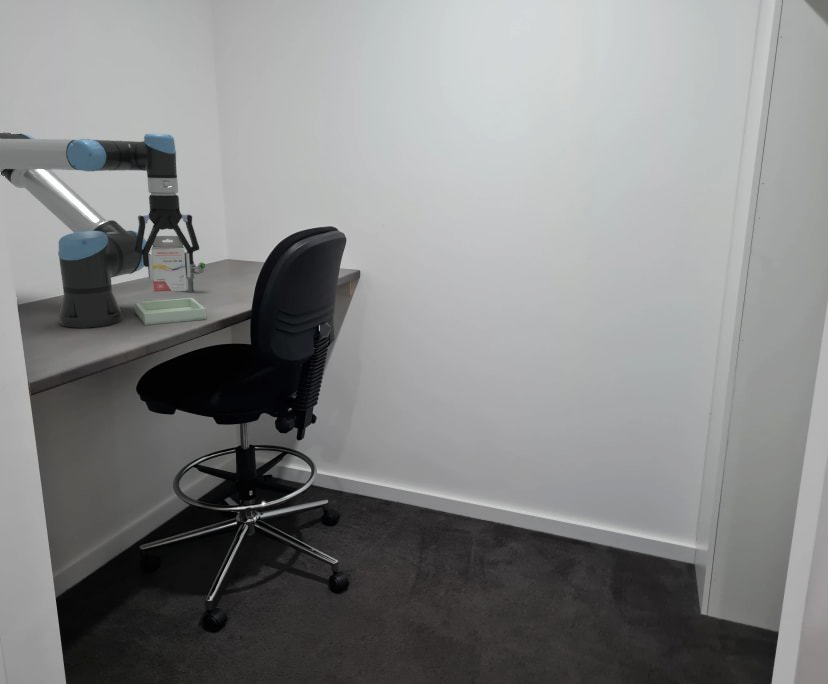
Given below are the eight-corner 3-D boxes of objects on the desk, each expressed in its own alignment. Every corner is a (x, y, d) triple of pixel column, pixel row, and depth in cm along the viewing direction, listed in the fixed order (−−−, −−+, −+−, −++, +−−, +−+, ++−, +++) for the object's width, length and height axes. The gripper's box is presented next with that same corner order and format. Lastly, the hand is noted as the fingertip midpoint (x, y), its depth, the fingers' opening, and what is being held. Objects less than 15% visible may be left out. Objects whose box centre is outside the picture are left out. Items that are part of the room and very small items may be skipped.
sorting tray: (145, 325, 177) (144, 314, 176) (135, 312, 190) (134, 302, 190) (206, 319, 185) (206, 308, 184) (192, 307, 198) (192, 297, 198)
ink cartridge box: (153, 292, 182) (149, 237, 178) (154, 288, 187) (150, 235, 183) (187, 290, 185) (183, 237, 181) (186, 287, 190) (183, 235, 186)
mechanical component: (203, 293, 218) (201, 263, 216) (174, 291, 220) (172, 261, 218) (207, 292, 221) (206, 261, 218) (179, 290, 223) (177, 260, 220)
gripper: (121, 195, 171) (129, 282, 177) (208, 194, 181) (213, 276, 187) (117, 193, 177) (125, 277, 183) (201, 193, 188) (206, 272, 194)
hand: (169, 277), depth 185 cm, fingers closed on ink cartridge box, 9 cm apart
